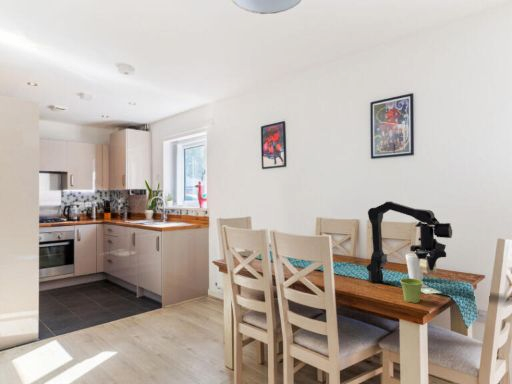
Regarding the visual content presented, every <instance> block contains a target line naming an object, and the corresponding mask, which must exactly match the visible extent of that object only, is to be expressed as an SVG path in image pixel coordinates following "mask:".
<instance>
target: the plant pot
mask: <svg viewBox="0 0 512 384" xmlns="http://www.w3.org/2000/svg"><path fill="white" fill-rule="evenodd" d="M399 282H400V286H401V289H402V293H403V300H404V301H405V302H407V303H413V304H416V303H417V304H419V303H420V300H421V293H422V292H421V287H422V284H423V285H424V281H423V280H418V279H410V278H402V279H400V280H399Z"/></svg>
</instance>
